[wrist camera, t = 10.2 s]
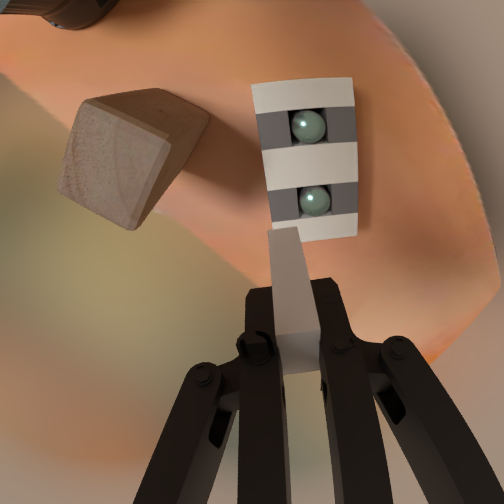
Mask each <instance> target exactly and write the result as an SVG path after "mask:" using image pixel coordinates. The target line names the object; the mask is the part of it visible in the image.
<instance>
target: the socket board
mask: <svg viewBox="0 0 504 504" xmlns="http://www.w3.org/2000/svg"><path fill="white" fill-rule="evenodd" d="M251 89H252V95H253V101H254V107H255V113H256V119H257V125H258V132H259V138H260V144H261V151H262V157H263V164H264V170H265V177H266V184H267V191H268V198H269V204H270V212H271V219H272V226H273V229H281V228H288V227H295V226H297V228H298V232H299V236H300V240H301V242H308V241H316V240H324V239H333V238H341V237H349V236H357V227H358V152H357V130H356V115H355V102H354V92H353V82H352V77H336V78H311V79H296V80H285V81H275V82H266V83H259V84H251ZM308 108H315V112H316V113H317V114H319V115H320V116H321V117H322V118H323V120H324V122H325V126H326V130H325V133H324V135H323V137H322V138H321V139H320V140H319V141H317V142H315V143H304V142H302V141H300V140H298V139H297V138H296V136H295V135H294V136H291V135H290V127H289V120H288V112H287V110H296V109H308ZM314 185H323V186H324V188H325V190H326V192H327V193H328V195H329V197H330V207H329V209H328V210H327V211H326V212H325V213H324V214H322V215H320V216H315V217H314V216H309V215H307V214H305V213H304V212H303V210H302V208H301V205H300V202H299V199H298V198H297V189H296V187H305V186H314Z"/></svg>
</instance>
